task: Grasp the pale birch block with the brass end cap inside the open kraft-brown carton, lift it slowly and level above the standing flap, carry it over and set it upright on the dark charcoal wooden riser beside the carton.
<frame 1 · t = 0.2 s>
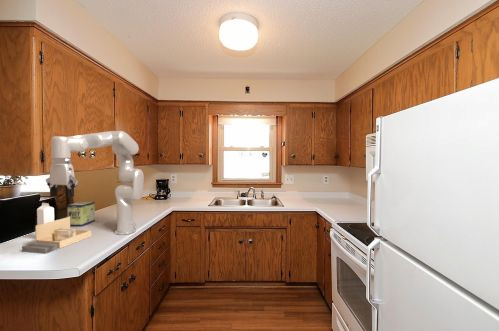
hand: (62, 196, 125), 31 cm above the countertop, tool pointing down, fingers open, 9 cm apart
protein box: (82, 224, 191), on the countertop
riser: (39, 251, 136), on the countertop
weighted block: (65, 235, 151), in the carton
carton: (65, 241, 151), on the countertop
milk: (46, 239, 156), on the countertop
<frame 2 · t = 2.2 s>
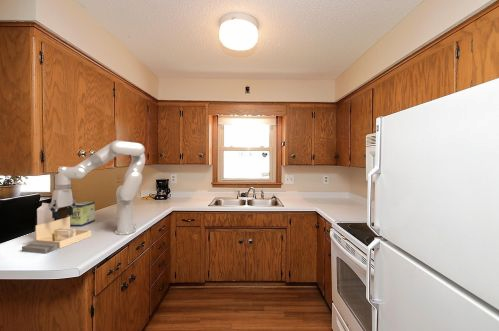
hand: (62, 216, 150), 15 cm above the countertop, tool pointing down, fingers open, 9 cm apart
nothing on the countertop moved.
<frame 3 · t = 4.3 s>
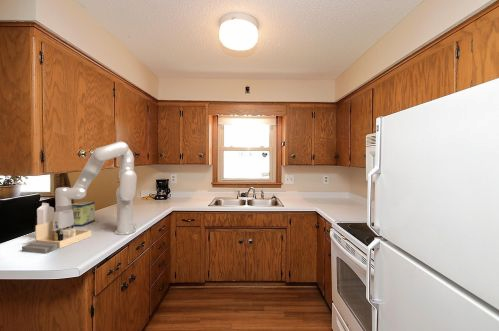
hand: (64, 238, 151), 2 cm above the countertop, tool pointing down, fingers closed on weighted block, 4 cm apart
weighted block: (65, 235, 151), in the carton, touching gripper
everything else where it was.
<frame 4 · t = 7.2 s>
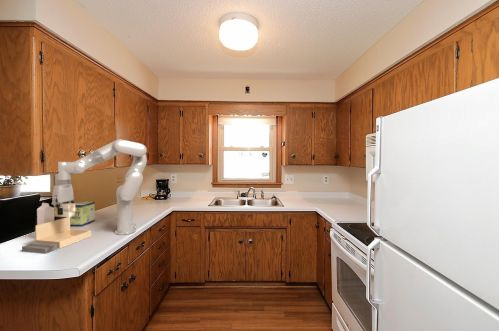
hand: (64, 213, 151), 17 cm above the countertop, tool pointing down, fingers closed on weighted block, 4 cm apart
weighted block: (64, 210, 150), point 19 cm above the countertop, touching gripper
everything else where it was.
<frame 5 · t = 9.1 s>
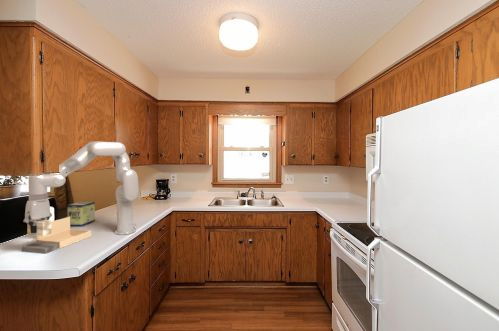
hand: (38, 231, 136), 11 cm above the countertop, tool pointing down, fingers closed on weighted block, 4 cm apart
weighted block: (39, 227, 136), point 13 cm above the countertop, touching gripper
everything else where it was.
when the fingers open (6 cm above the countertop, at t = 10.4 s): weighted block drops 1 cm, resting on riser.
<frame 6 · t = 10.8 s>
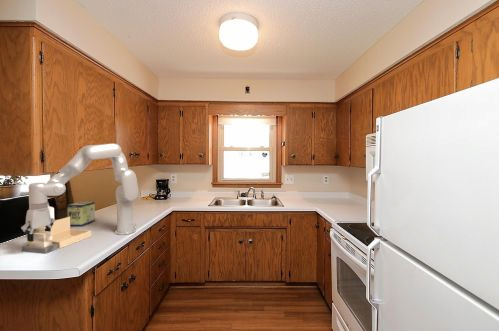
hand: (39, 238, 136), 7 cm above the countertop, tool pointing down, fingers open, 8 cm apart
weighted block: (40, 238, 136), on the riser, point 6 cm above the countertop
everything else where it was.
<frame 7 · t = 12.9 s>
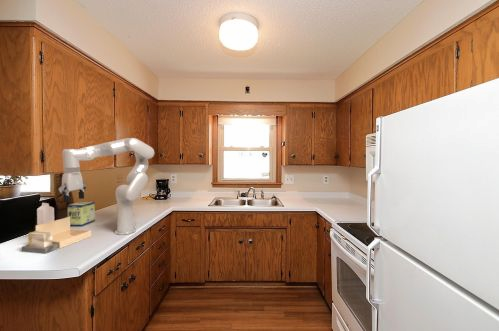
hand: (74, 200, 146), 25 cm above the countertop, tool pointing down, fingers open, 9 cm apart
nothing on the countertop moved.
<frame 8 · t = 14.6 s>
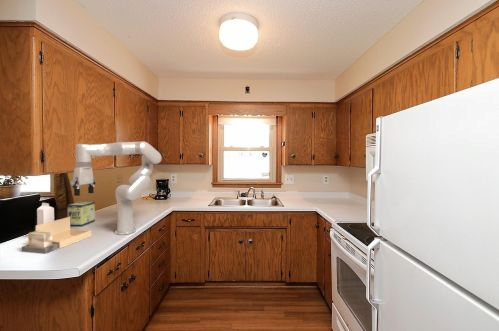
hand: (84, 194, 149), 28 cm above the countertop, tool pointing down, fingers open, 9 cm apart
nothing on the countertop moved.
at the end: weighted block 0.5 cm off-centre on the riser, point 6.5 cm above the riser's base; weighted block tilted 0°; the gripper is holding nothing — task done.
